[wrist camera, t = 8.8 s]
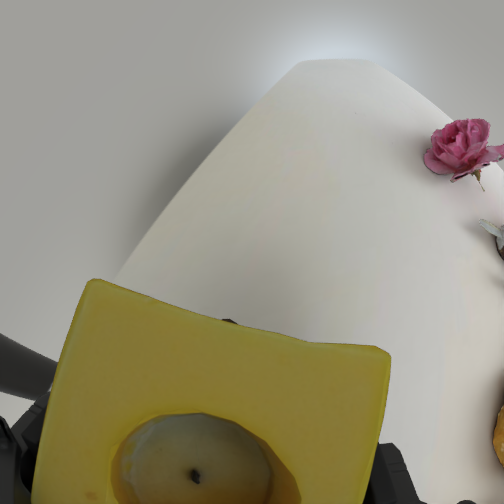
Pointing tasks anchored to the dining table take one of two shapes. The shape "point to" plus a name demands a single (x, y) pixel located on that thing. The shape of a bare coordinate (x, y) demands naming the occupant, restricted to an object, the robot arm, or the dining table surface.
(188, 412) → the candle
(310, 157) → the dining table surface
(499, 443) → the bagel
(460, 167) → the flower
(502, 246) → the ice cream bar
